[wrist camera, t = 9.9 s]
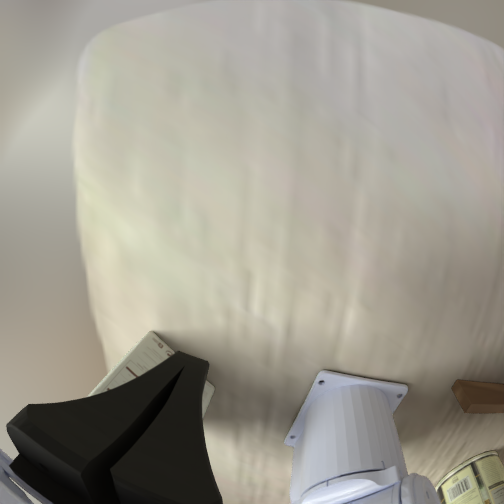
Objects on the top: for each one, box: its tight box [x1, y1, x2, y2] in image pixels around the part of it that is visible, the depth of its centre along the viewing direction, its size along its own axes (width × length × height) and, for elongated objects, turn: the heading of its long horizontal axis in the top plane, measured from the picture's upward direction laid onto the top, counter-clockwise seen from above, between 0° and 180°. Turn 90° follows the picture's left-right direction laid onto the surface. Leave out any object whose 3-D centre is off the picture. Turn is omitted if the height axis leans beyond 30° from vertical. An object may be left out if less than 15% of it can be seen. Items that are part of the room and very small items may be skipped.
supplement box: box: [88, 331, 215, 418], centre depth 17 cm, size 7×7×13 cm
